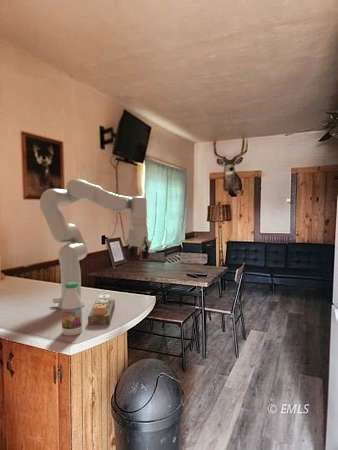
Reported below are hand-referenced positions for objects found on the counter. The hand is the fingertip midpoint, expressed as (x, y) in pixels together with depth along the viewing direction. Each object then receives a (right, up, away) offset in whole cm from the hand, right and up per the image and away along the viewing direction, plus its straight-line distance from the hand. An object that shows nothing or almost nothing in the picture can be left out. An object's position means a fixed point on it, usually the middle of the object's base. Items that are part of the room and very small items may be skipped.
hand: (138, 257), depth 151 cm
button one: (-17, -24, +1) cm, 29 cm away
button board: (-16, -26, -6) cm, 31 cm away
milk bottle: (-24, -27, -25) cm, 44 cm away
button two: (-16, -24, -6) cm, 30 cm away
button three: (-15, -24, -14) cm, 32 cm away
